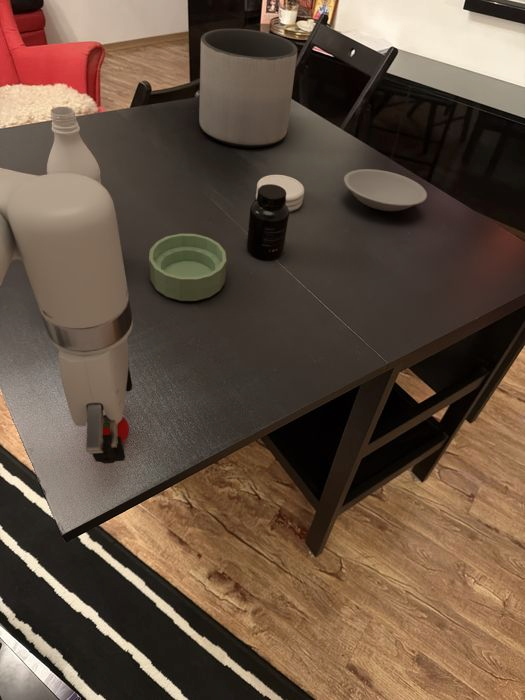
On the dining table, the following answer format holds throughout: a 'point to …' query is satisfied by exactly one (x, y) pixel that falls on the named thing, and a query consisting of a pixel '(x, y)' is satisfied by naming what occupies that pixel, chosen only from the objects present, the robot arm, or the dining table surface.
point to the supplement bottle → (268, 223)
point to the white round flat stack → (291, 187)
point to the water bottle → (70, 147)
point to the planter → (246, 86)
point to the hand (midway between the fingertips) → (115, 422)
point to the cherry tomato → (118, 429)
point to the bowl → (187, 267)
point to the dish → (384, 189)
